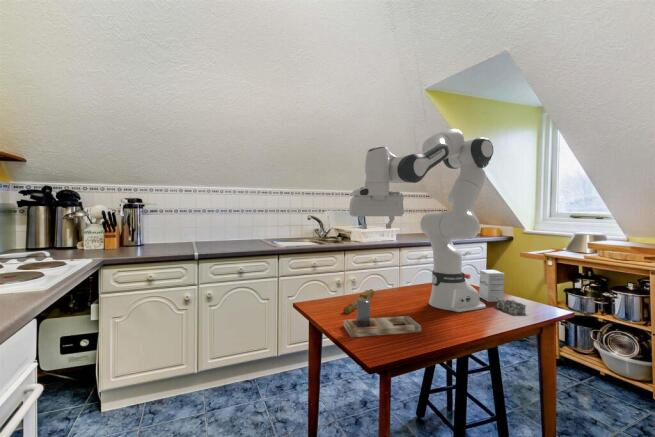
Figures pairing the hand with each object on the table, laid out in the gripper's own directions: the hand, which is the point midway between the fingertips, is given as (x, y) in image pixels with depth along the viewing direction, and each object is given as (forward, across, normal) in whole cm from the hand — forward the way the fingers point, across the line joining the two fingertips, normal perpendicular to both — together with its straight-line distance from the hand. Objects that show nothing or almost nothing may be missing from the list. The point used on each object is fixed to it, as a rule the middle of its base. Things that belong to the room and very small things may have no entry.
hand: (376, 228), depth 125 cm
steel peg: (+33, +8, +12) cm, 36 cm away
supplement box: (+33, -58, -12) cm, 68 cm away
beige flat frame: (+33, +2, +12) cm, 35 cm away
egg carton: (+34, -56, +2) cm, 66 cm away
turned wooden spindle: (+34, +1, -17) cm, 38 cm away
